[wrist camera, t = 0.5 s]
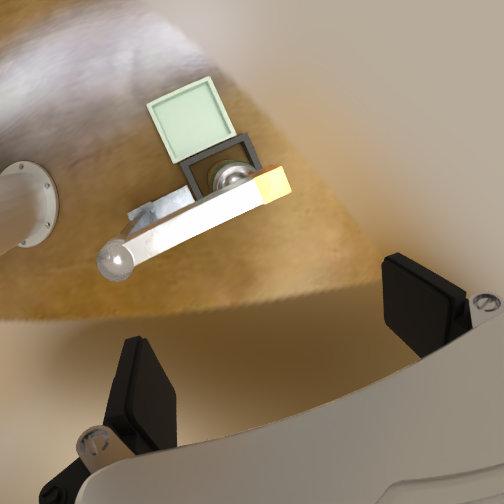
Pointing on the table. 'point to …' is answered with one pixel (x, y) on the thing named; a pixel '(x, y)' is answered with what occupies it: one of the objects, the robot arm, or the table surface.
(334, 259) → the table surface
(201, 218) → the bar
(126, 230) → the post
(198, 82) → the tray
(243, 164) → the soda can
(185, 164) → the collar
